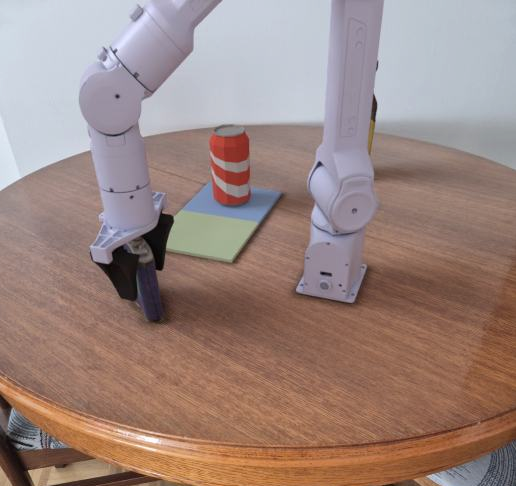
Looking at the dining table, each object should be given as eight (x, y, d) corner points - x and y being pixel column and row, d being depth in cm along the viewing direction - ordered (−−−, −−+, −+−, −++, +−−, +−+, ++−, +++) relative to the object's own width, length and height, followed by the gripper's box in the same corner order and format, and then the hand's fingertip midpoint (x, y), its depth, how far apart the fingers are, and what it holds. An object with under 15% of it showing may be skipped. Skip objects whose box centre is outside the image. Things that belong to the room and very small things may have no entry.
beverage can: (238, 211, 91) (235, 139, 83) (207, 203, 93) (201, 132, 85) (257, 197, 94) (255, 127, 87) (226, 189, 97) (222, 120, 89)
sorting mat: (231, 263, 80) (231, 259, 79) (147, 247, 83) (146, 244, 83) (281, 194, 97) (281, 191, 96) (209, 184, 100) (209, 181, 100)
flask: (125, 289, 75) (112, 218, 68) (146, 283, 76) (135, 213, 69) (148, 326, 68) (136, 251, 62) (170, 319, 70) (160, 245, 63)
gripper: (126, 154, 67) (142, 249, 76) (55, 204, 57) (84, 308, 66) (177, 161, 65) (188, 258, 74) (114, 214, 55) (135, 320, 64)
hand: (142, 282), depth 70 cm, fingers closed on flask, 6 cm apart
